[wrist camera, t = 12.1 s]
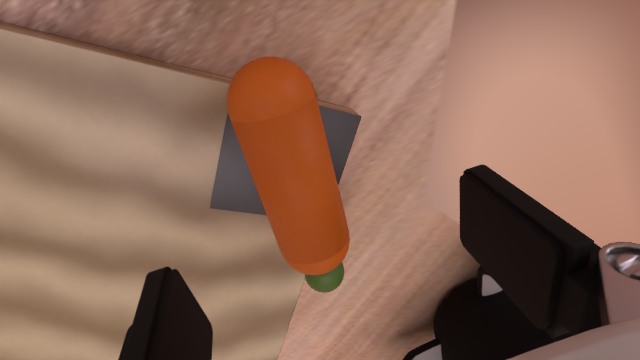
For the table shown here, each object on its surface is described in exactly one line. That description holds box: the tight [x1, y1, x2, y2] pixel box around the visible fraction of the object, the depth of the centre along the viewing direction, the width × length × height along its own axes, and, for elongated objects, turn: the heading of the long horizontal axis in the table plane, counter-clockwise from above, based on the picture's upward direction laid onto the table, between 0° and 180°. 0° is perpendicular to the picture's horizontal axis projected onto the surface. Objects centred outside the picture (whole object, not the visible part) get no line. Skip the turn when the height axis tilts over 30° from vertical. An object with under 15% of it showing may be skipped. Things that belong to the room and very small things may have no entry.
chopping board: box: [0, 22, 361, 360], centre depth 21 cm, size 22×20×2 cm
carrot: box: [227, 57, 350, 292], centre depth 18 cm, size 14×4×4 cm, turn 13°
